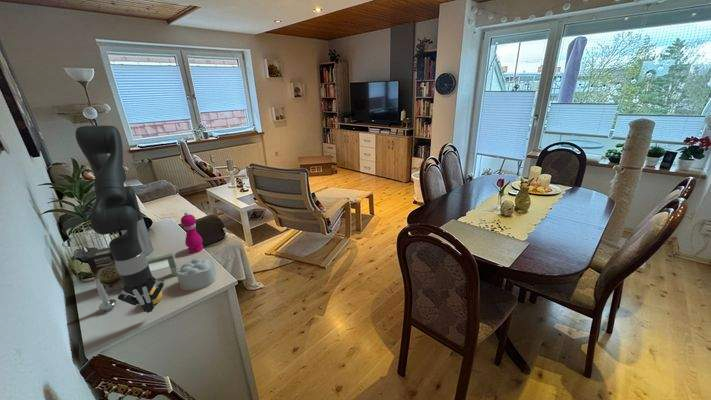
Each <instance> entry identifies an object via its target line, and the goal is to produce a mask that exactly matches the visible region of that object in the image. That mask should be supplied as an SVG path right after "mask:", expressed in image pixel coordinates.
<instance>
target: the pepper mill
mask: <svg viewBox="0 0 711 400" xmlns="http://www.w3.org/2000/svg"><path fill="white" fill-rule="evenodd" d="M196 220H197V219H196V217H195V216H194V215H193V214H189V212H188V211H185V212H184V215H183V216H182V217H181V218H180V224H181V225H182V226H183V229H184V230H185V233H186V237H185V246H186V247H188V248H187V249H188V252H189V253H190V254H196V253H199V252H201V251H203V249H204V245H203V237H202V236H201V234H199V232H198V231H197V229H196V226H197V225H196Z"/></svg>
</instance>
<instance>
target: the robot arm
mask: <svg viewBox="0 0 711 400" xmlns="http://www.w3.org/2000/svg"><path fill="white" fill-rule="evenodd" d="M74 132H75V134H74V135H75V136H74V137H75V140H76V143H77V145H78V147H79V149H80V150H81V152H82V154H83V155H84V157H85V159H86V160H87V162H88V163H89V165H90V169H91V171H92V174H93V176H94V179H93V184H94V185H93V187H94V192H95V193H94V194H95V202H94V206H93V210H92V213H91V216H90V220H89V221H90V227H91V229H92V231H94V233H96V234H99V235H101V236H102V235H109V234H112V233H118V232H121V235H119V236H117V237H115V238H113V239H112V240H110V241H109V244H108V247H109V248H110V250H111V253H112V255H113V258H114V260H115V265H116V268H117V272H118V273H119V275H120V278H121V280H122V283H123V285H124V288H122V289H123V290H121V291H120V292H119V293H118V295H117V300H119V301H121V302H124V303H126V304H129V305H132V306H137V305H140V306H141V308H142V310H143V312H144V313H145V312H146V314H148V313H151V312H153V310H154V309H155V304H154V303H153V301H152V300H154V299H156V298H157V296H158V295H159V293H160V291H162V289H163V288H164V286H165V280H163V279H162V280H156V278H155V277H154V276H153V274H152V272H151V271H150V268H149V265H148V262H147V260H146V259H147V257H146V256H148V255H150V254H152V253H153V252H154V247H153V244H152V241H151V238H150V235H149V232H148V229H147V226H146V224H145V220H144V217H143V214H142V212H141V210H140V205H139V202H138V198H137V195H136V194H137V193H136V191H135V190H134V187H132V186H130V185H126V186H125V182H126V180H127V174H126V171H125V166H124V151H123V150H124V147H123V140H122V136H121V133H120V131H119V128H118V127H116V126H114V125H82V126H81V125H80V126H78V127H76V129H75V131H74ZM108 154H109V155H108ZM153 287H156V289H155V291H154V293H153V294H152V295H151V293H150V291H151V290H152V288H153ZM143 294H144V295H143ZM144 296H145V297H144Z"/></svg>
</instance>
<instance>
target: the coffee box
mask: <svg viewBox="0 0 711 400" xmlns="http://www.w3.org/2000/svg"><path fill="white" fill-rule="evenodd" d="M85 260H86V261H87V264H88V266H89V268H90V271H91V273H92V275H93V277H94V280H95V279H99V280H100V282H101V284H102V285H103V286H104V289H105V291H106V293H109V292H112V291H116V290H121V289H123V288H124V285H123V283H122V280H121V278H120V275H119V273H118V272H117V268H116V265H115V260H114V258H113V255H112V253H111V250H110V248H109V246H108V247H104V248H100V249H94V250H90V252H89V253H88V254H87V256H86V258H85Z"/></svg>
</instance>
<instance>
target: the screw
mask: <svg viewBox="0 0 711 400" xmlns="http://www.w3.org/2000/svg"><path fill="white" fill-rule="evenodd" d="M93 282H94V283H95V285H96V286H95V287H96V290H97V292H98V295H99V296H100V299H101V302H102V303H101V304H100V305H99V306H98V309H99V310H104V311H105V312H110V311H111V310H113V309H114V308H115V305H116V304H117V300H116V299H113V298H112V299H110V298H109V296H108V294H107V293H108V292H106V291H105V289H104V286H103V285H102V284H101V282H100V280H99V279H95V278H94V280H93Z"/></svg>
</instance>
